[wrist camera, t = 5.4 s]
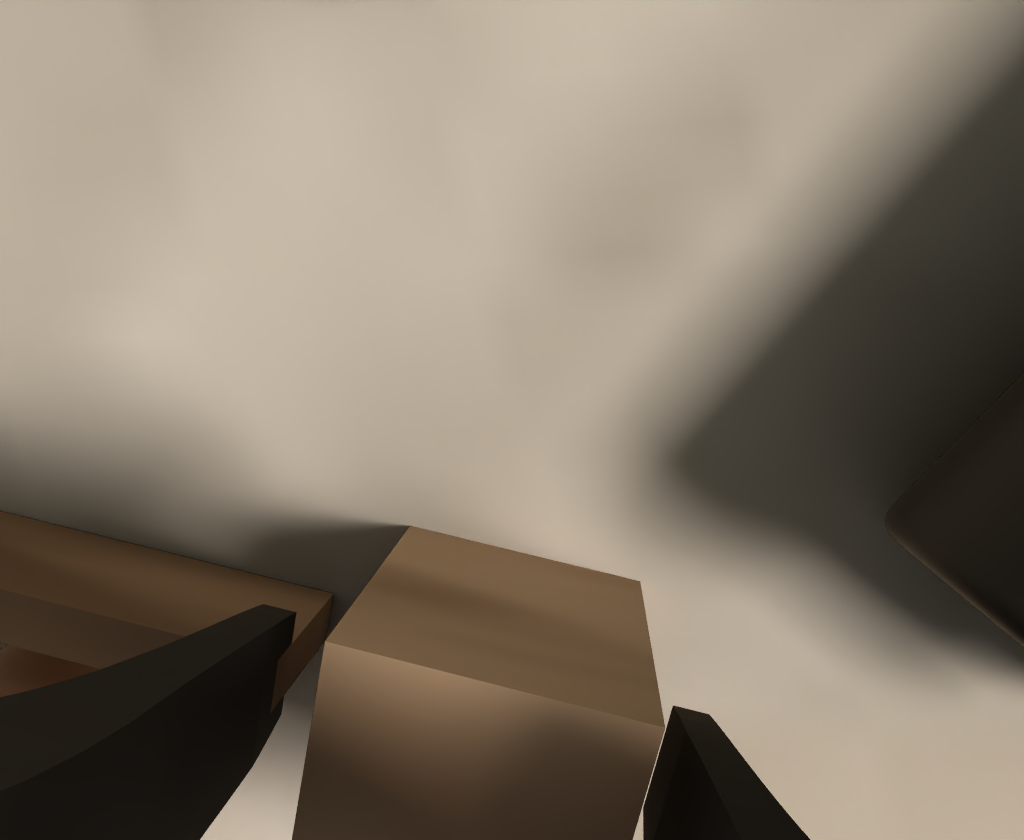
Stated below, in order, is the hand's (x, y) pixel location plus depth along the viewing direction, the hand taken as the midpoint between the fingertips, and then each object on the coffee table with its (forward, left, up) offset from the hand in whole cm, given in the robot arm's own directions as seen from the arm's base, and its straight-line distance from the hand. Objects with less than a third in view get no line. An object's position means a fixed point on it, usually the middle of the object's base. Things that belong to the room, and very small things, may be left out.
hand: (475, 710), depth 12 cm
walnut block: (0, 0, -2) cm, 2 cm away
